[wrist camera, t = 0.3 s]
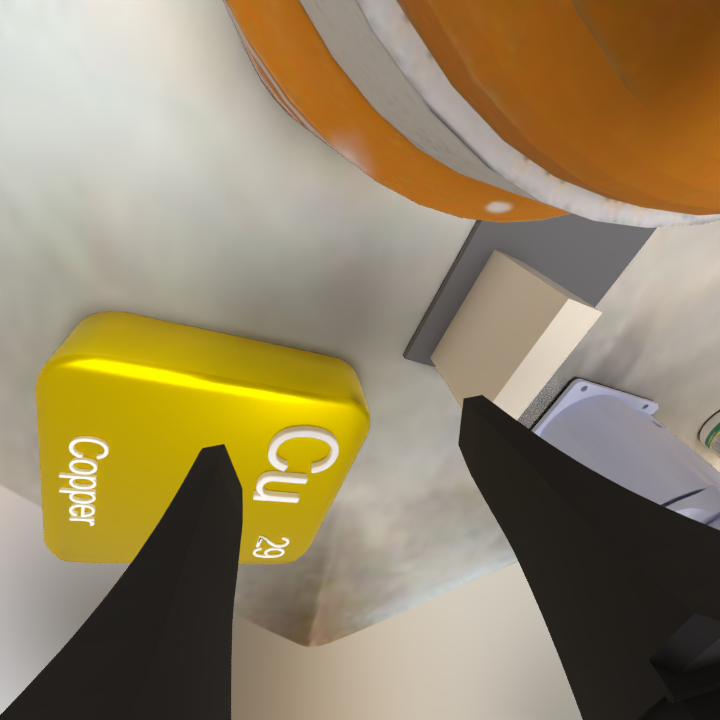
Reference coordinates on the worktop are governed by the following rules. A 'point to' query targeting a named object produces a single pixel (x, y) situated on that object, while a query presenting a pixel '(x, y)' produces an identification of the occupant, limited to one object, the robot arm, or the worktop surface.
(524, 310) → the tile
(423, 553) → the worktop surface
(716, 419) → the supplement bottle
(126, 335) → the element tile
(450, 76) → the canister
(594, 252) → the mat
